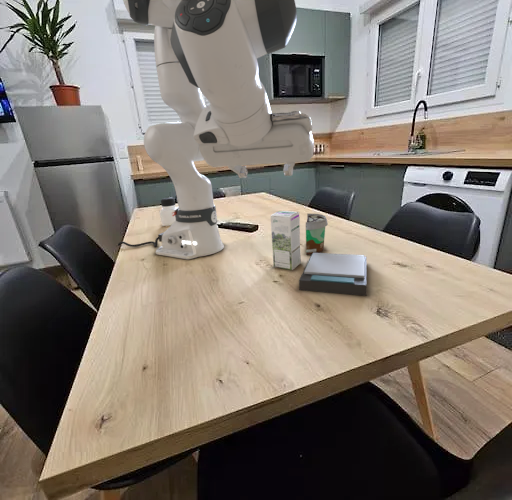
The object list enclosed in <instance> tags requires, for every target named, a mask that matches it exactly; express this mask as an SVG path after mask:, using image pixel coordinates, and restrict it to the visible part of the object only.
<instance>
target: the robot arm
mask: <svg viewBox="0 0 512 500" xmlns="http://www.w3.org/2000/svg"><path fill="white" fill-rule="evenodd" d="M122 1H123V4H124V7H125V9H126V11H127V12H128V14H129V17H130V18H131V20H132V21H133V22H134V23H136V24H138V25H142V26H146V27H148V26H149V25H151V26H154V32H153V41H154V42H153V47H154V50H153V51H154V58H155V59H154V61H155V69H156V74H157V79H158V87H159V94H160V97H161V100H162V101H163V103H164V104H165V105H166V106H168V107H169V108H171V109H172V110H174V112H175V113H176V114H177V116H178V117H179V120H180V122H179V121H177V122H172V121H171V122H170V121H169V122H160V123H156V124H153V125H150V126H148V127H147V128H146V130H145V132H144V136H143V147H144V150H145V152H146V154H147V155H148V157H149V158H150V159H151V160H152V161H153V162H155V163H157V164H158V166H160V167H162V168H163V170H164V171H165V172H166V173H167V174H168V176H169V178H170V180H171V182H172V184H173V187H174V190H175V195H176V200H177V207H179V209H178V210H176V211H175V212H173V213H174V214H173V215H172V216H175V215H176V221H175V222H174V223H173V224H172V225H171V226H168V228H167V229H166V230H165V231H163V232H161V233H158V234H157V237H156V238H155V239H154V241H151V240H150V241H144V242H141V243H137V244H131V243H129V242H126V241H119V242H118V244H117V246H121V245H122V244H123V245H125V246H126V247H131V248H137V247H141V246H144V245H145V246H146V245H150V244H152V245H153V247H154V248H156V250H155V255H158V256H164V257H171V258H176V259H182V260H193V259H196V258H199V257H205V256H210V255H213V254H216V253H219V252H222V250H223V249H224V248H225V245H224V243H223V241H222V237H221V235H220V231H219V226H218V215H217V207H216V205H215V202H214V193H213V185H212V182H211V180H210V178H209V177H207V176H205V175H204V174H202V173H200V172H199V171H198V169H197V168H196V165H195V162H203V161H205V163H206V164H207V165H209V166H211V167H212V168H221V167H227V168H228V169H229V170H231V171H233V172H234V173H235V174H237V176H238V178H239V179H246V178H248V174H249V171H248V169H247V166H255V165H272V164H284V165H283V169H282V172H283V174H284V175H283V176H284V177H293V174H294V167H295V166H296V165H295V164H296V163H306V162H310V160H311V159H312V158H313V156H314V150H315V141H314V137H313V134H312V131H313V123H312V119H311V117H310V116H309V115H308V114H306V113H303V112H301V111H300V110H292V111H289V112H273V111H272V108H271V105H270V101H269V97H268V94H267V91H266V87H265V85H264V84H263V82H262V81H261V79H260V75H259V62H258V59H259V58H261V57H263V56H266V55H270V54H273V53H276V52H279V50H283V49H286V47H287V45H288V44H289V42H290V39H291V38H292V35H293V33H294V31H295V27H296V24H297V21H298V15H297V14H298V13H297V5H296V1H295V0H122ZM203 96H204V97H205V98H206V100H207V102H208V104H209V105H208V106H206V105H205V101H204V98H203ZM159 242H161V246H159V247H158V243H159Z"/></svg>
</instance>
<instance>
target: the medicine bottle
mask: <svg viewBox="0 0 512 500" xmlns="http://www.w3.org/2000/svg"><path fill="white" fill-rule="evenodd" d="M160 203H161V204H160V205H161V209H160V210H159V212H158V213H159V219H160V223H161V226H162V227H170V226H171V225H172V224H173V223H174V222H175V221H176V215H175V216H172V215H173V214H174V213H173V212H175V211H176V210H178V209H179V206H176V200H175V198H174V197H164V198H161V200H160Z"/></svg>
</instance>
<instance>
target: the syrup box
mask: <svg viewBox="0 0 512 500" xmlns="http://www.w3.org/2000/svg"><path fill="white" fill-rule="evenodd" d="M300 217H301V215H300V212H299V211H292V210H291V211H289V210H279V211H276V212H273V213H272V214H270V229H271V230H270V231H271V243H272V245H271V247H272V260H273V261H272V262H273V268H277V269H283V270H289V271H293V270H295V269H296V268H297V267H298V266H299V265H301V264H302V263H301V262H302V259H301V256H302V255H301V221H300Z"/></svg>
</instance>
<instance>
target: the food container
mask: <svg viewBox="0 0 512 500" xmlns="http://www.w3.org/2000/svg"><path fill="white" fill-rule="evenodd" d="M328 225H329V224H328V219H327V216H326V215H324V214H321V213H307V216H306V221H305V253H306V254H305V255H306V256H311V254H313V253H323V252H324V250H325V249H324V248H325V237H326V236H325V235H326V227H327V226H328Z"/></svg>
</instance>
